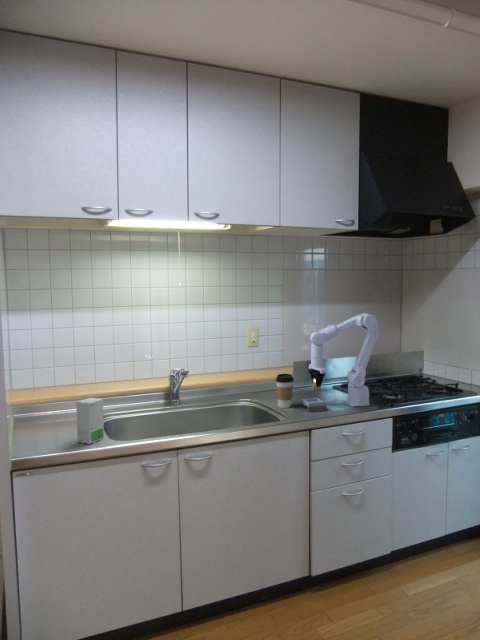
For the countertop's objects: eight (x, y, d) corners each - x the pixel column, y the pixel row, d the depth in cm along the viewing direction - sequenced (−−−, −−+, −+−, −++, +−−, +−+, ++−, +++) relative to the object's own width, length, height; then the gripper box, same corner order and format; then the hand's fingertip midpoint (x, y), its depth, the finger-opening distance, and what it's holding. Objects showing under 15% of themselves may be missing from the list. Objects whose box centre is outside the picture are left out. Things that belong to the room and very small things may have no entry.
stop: (325, 409, 222) (325, 404, 222) (326, 410, 221) (326, 405, 221) (307, 411, 220) (307, 406, 219) (308, 412, 219) (308, 406, 218)
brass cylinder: (318, 388, 232) (318, 377, 231) (322, 390, 228) (322, 379, 228) (311, 389, 231) (311, 378, 230) (315, 391, 227) (315, 379, 227)
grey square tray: (317, 405, 229) (317, 398, 229) (323, 409, 222) (324, 401, 221) (302, 406, 227) (302, 399, 227) (308, 411, 220) (308, 403, 219)
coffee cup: (294, 404, 231) (294, 373, 230) (291, 409, 223) (291, 377, 222) (277, 403, 234) (277, 373, 232) (274, 408, 226) (274, 376, 224)
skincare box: (90, 445, 177) (88, 403, 176) (76, 442, 180) (74, 401, 179) (105, 438, 185) (103, 398, 184) (91, 435, 188) (90, 396, 186)
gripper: (303, 355, 234) (303, 382, 235) (315, 360, 220) (314, 389, 221) (317, 354, 236) (316, 382, 237) (329, 359, 222) (329, 388, 223)
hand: (316, 385), depth 229 cm, fingers closed on brass cylinder, 4 cm apart
